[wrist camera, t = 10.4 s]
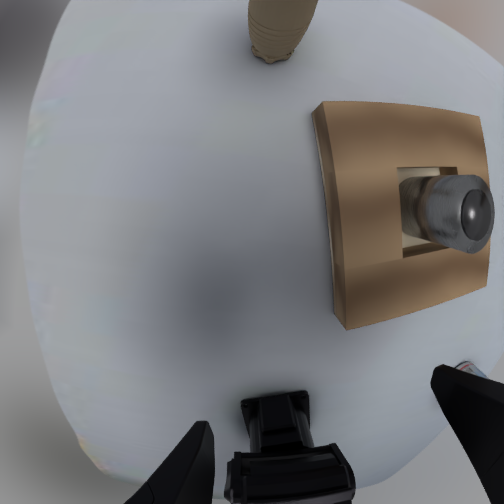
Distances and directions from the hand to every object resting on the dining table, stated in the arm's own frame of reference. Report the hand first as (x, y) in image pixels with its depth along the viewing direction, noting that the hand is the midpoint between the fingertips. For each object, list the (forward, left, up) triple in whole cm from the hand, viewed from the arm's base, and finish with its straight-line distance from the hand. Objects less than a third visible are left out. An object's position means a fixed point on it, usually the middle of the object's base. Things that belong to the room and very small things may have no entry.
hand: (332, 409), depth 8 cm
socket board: (+5, -12, -13) cm, 18 cm away
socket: (+5, -12, -12) cm, 18 cm away
